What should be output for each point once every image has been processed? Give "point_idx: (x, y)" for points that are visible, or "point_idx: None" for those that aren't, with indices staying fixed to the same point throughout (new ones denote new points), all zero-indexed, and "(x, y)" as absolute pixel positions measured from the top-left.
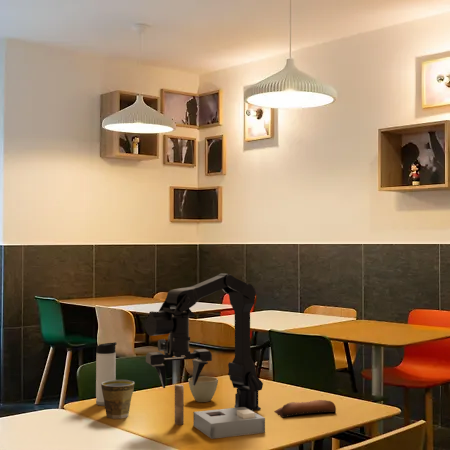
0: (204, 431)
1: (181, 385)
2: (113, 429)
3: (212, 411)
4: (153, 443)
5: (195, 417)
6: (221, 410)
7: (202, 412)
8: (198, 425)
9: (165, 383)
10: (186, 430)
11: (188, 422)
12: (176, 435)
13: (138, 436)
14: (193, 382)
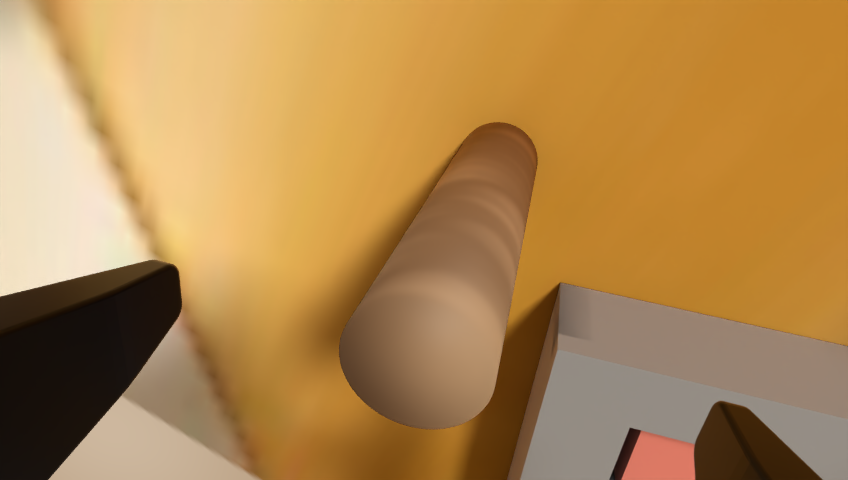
0: (512, 467)
1: (458, 377)
2: (7, 32)
3: None
4: (195, 415)
5: (547, 367)
6: (830, 459)
7: (616, 408)
8: (535, 389)
9: (127, 386)
10: None
11: (592, 167)
12: None
13: None
14: (710, 474)
